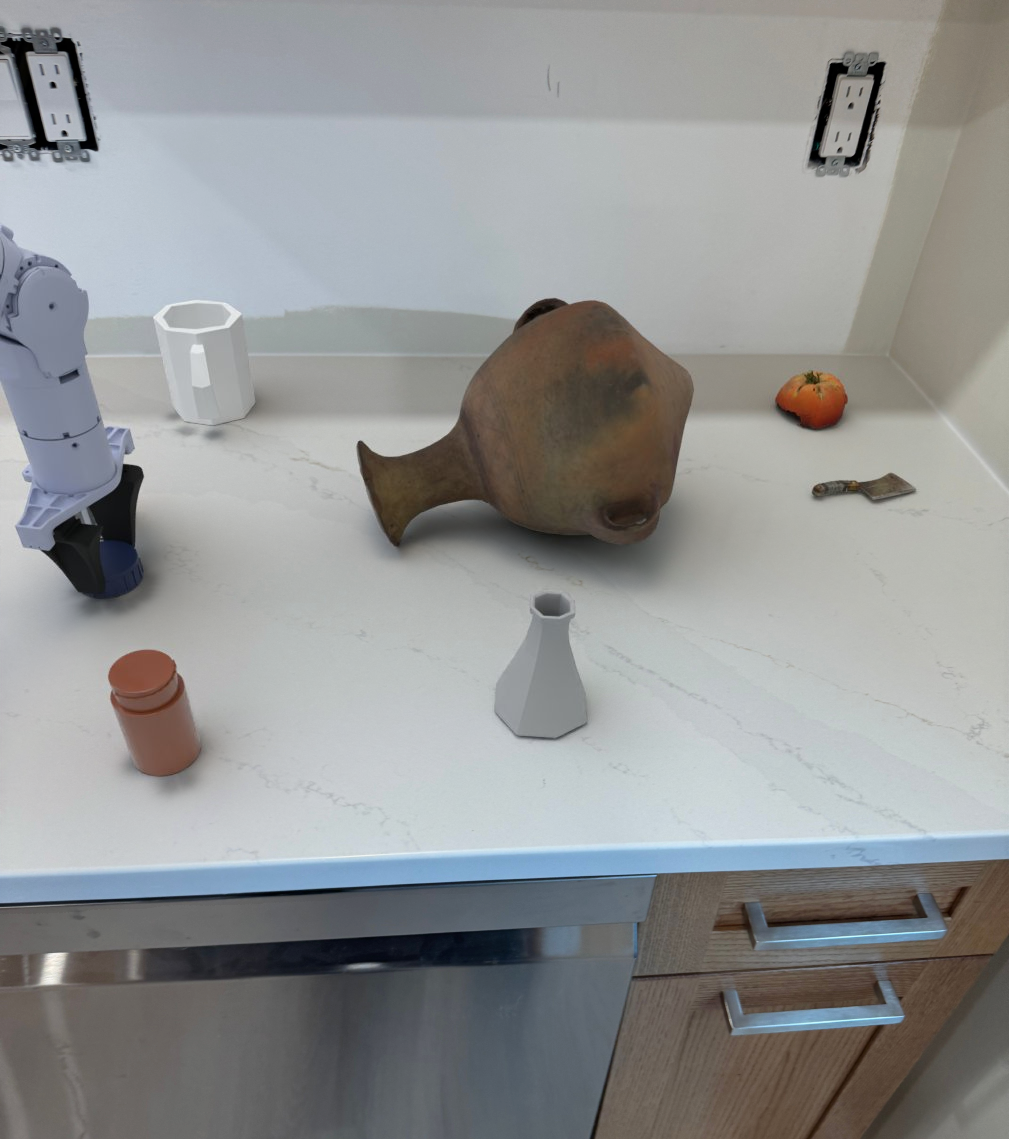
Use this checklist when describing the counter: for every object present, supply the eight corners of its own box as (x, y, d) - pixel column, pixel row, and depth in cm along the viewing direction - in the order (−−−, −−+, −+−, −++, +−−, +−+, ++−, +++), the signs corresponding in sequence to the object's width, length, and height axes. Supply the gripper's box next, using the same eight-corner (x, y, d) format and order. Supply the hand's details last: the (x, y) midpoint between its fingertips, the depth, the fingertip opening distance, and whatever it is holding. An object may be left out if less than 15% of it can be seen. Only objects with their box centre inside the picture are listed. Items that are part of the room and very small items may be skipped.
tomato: (784, 374, 106) (835, 345, 100) (816, 421, 108) (868, 394, 102) (756, 409, 102) (807, 380, 96) (790, 456, 104) (842, 431, 98)
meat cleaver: (924, 503, 91) (902, 478, 94) (928, 493, 90) (906, 468, 94) (815, 502, 89) (797, 476, 93) (819, 492, 88) (801, 466, 92)
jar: (140, 785, 60) (111, 705, 54) (125, 739, 63) (95, 658, 57) (209, 761, 62) (187, 682, 56) (190, 718, 64) (168, 638, 59)
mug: (174, 390, 99) (154, 301, 92) (254, 385, 100) (240, 298, 93) (171, 446, 90) (149, 352, 83) (258, 440, 92) (244, 348, 85)
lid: (154, 563, 77) (149, 544, 75) (125, 603, 73) (119, 583, 71) (95, 555, 77) (88, 535, 76) (63, 594, 73) (56, 574, 72)
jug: (666, 468, 93) (382, 523, 92) (657, 265, 82) (334, 326, 81) (736, 551, 76) (389, 620, 75) (735, 310, 65) (329, 387, 64)
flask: (508, 749, 64) (517, 646, 57) (481, 679, 69) (486, 577, 62) (602, 731, 66) (622, 630, 59) (569, 665, 71) (584, 564, 64)
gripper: (55, 370, 70) (100, 514, 80) (-51, 466, 60) (15, 618, 69) (141, 380, 70) (176, 523, 79) (50, 478, 60) (103, 630, 69)
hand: (107, 569), depth 74 cm, fingers closed on lid, 5 cm apart
